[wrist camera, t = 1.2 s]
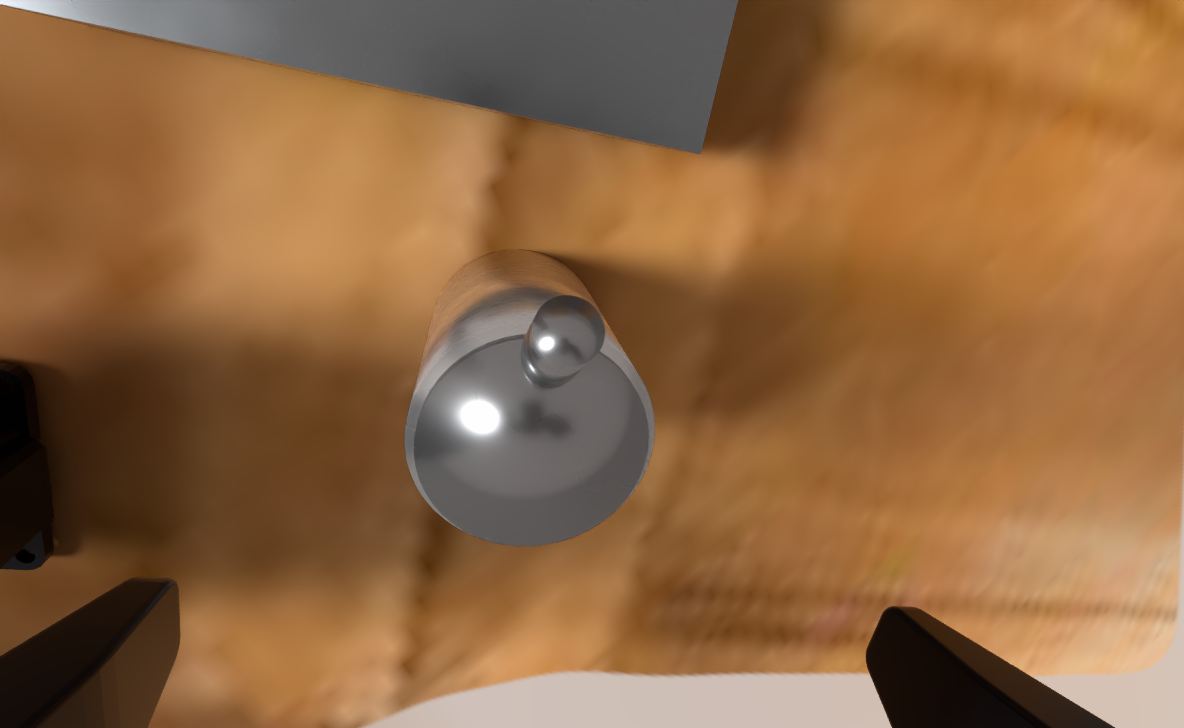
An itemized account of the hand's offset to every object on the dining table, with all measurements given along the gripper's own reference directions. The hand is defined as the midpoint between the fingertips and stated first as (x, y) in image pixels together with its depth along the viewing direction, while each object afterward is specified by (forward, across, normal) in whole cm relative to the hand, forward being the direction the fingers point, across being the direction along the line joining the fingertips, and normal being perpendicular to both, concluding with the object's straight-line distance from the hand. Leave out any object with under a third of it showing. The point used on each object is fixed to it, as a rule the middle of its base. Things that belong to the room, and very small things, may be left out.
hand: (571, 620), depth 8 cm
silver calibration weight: (+12, 0, 0) cm, 12 cm away
